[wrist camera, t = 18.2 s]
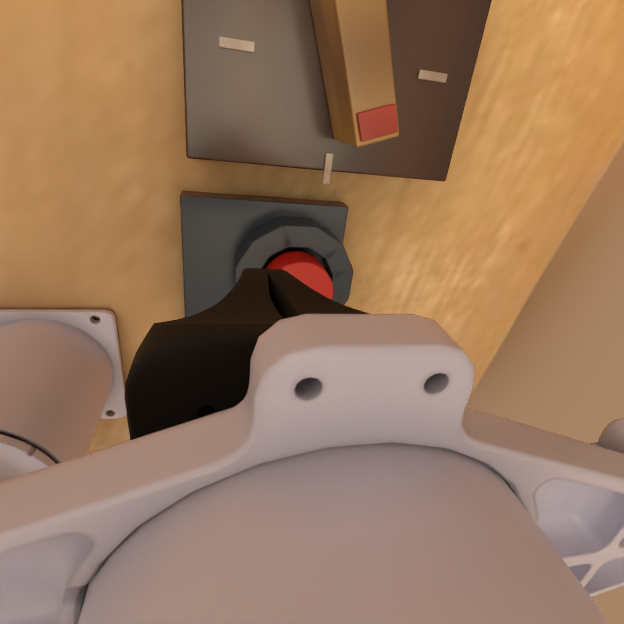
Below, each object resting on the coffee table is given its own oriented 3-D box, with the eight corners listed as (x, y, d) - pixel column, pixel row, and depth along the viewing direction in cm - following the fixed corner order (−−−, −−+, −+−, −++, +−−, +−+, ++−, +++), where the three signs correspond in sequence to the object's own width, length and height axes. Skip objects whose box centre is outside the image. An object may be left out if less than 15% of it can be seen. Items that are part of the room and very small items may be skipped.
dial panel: (190, 163, 20) (186, 172, 17) (182, -107, 15) (175, -152, 13) (417, 183, 23) (444, 193, 20) (467, -37, 19) (510, -61, 16)
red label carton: (304, -23, 15) (328, -57, 12) (348, -33, 15) (383, -69, 12) (333, 140, 18) (358, 148, 15) (369, 130, 18) (402, 136, 15)
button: (260, 310, 22) (263, 325, 20) (263, 249, 20) (267, 260, 19) (321, 310, 23) (328, 324, 21) (329, 251, 21) (338, 263, 20)
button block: (187, 322, 24) (183, 347, 22) (181, 190, 21) (176, 202, 18) (329, 321, 26) (341, 344, 24) (346, 202, 23) (363, 214, 20)
